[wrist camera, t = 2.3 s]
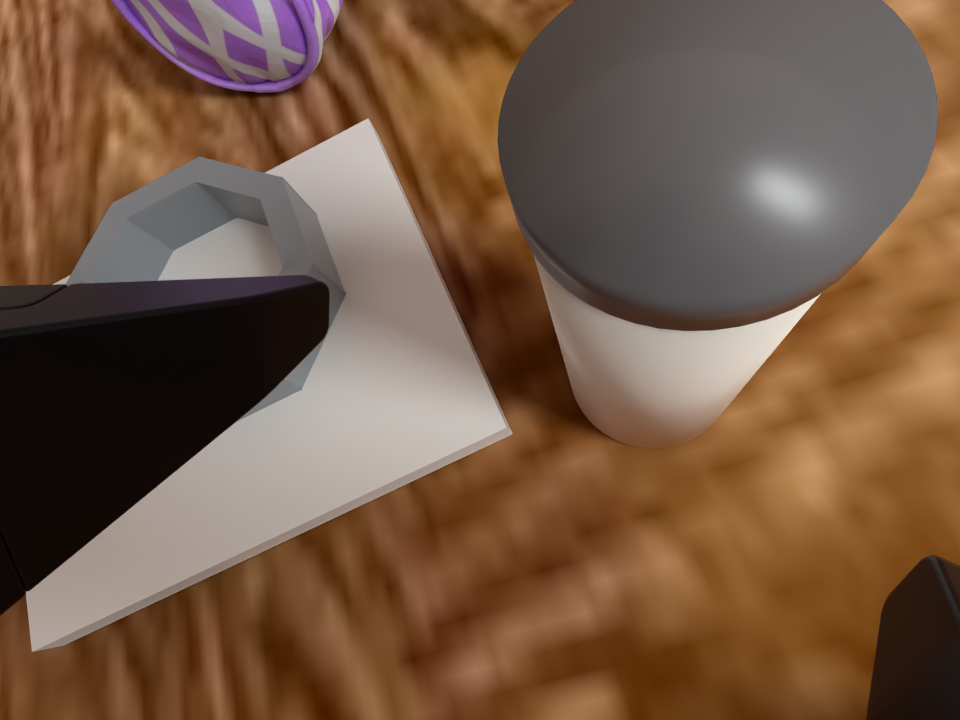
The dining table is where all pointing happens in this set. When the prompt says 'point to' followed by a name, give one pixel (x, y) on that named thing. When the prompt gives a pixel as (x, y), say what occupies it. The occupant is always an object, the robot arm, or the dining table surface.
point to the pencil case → (237, 38)
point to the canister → (704, 185)
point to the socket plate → (311, 437)
